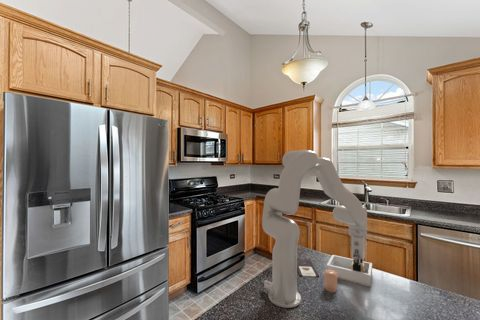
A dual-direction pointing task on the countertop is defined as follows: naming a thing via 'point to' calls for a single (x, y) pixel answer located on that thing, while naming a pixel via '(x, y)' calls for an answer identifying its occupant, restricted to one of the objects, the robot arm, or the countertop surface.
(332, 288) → the terracotta cylinder
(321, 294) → the countertop surface
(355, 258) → the robot arm
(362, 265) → the wood cube
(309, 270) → the chocolate bar
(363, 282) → the tote
